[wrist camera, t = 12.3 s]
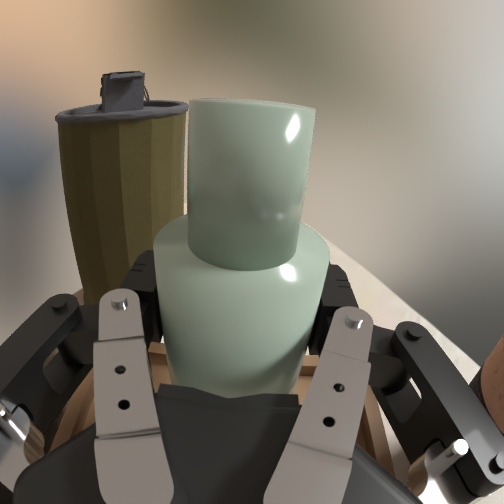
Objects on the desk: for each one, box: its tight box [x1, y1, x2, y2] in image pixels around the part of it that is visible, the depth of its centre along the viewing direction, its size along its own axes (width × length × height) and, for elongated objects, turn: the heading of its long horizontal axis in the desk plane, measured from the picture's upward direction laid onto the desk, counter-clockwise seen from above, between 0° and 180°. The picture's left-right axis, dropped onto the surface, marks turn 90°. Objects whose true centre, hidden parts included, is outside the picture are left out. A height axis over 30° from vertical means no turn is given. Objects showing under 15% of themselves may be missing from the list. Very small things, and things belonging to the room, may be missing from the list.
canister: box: [55, 71, 189, 305], centre depth 25 cm, size 11×10×20 cm
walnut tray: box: [49, 342, 395, 477], centre depth 16 cm, size 20×14×2 cm
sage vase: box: [153, 98, 330, 398], centre depth 11 cm, size 5×5×14 cm
